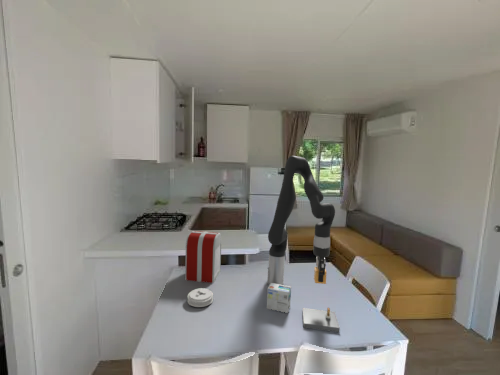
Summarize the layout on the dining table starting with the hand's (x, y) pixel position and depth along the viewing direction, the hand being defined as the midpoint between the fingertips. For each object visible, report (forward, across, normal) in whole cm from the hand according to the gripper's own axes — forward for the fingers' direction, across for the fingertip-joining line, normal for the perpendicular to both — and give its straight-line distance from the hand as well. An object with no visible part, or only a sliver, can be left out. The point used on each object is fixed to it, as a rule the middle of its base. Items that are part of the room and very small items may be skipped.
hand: (319, 279), depth 125 cm
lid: (+15, +4, -58) cm, 60 cm away
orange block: (+1, 0, 0) cm, 1 cm away
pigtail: (+14, +9, +3) cm, 17 cm away
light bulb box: (+16, +2, -19) cm, 25 cm away
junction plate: (+16, +9, 0) cm, 18 cm away
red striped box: (+15, -24, -66) cm, 72 cm away
